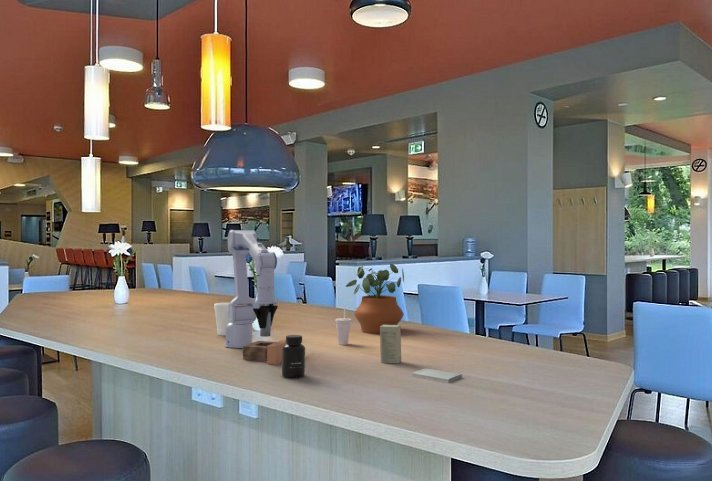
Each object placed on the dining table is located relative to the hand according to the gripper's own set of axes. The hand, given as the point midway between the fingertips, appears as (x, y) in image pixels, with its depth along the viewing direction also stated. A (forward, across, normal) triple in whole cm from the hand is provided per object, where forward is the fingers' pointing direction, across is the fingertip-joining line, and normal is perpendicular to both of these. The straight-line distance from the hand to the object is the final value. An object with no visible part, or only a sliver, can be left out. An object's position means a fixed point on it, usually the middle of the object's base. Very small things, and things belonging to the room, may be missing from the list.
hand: (265, 327), depth 195 cm
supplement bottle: (+11, -21, -20) cm, 31 cm away
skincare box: (+11, +8, -42) cm, 45 cm away
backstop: (+10, 0, -7) cm, 13 cm away
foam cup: (+11, +37, +38) cm, 54 cm away
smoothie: (+11, +33, -16) cm, 38 cm away
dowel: (+3, 0, 0) cm, 3 cm away
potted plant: (+11, +70, -18) cm, 73 cm away
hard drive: (+11, -7, -61) cm, 62 cm away
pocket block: (+10, 0, 0) cm, 10 cm away
